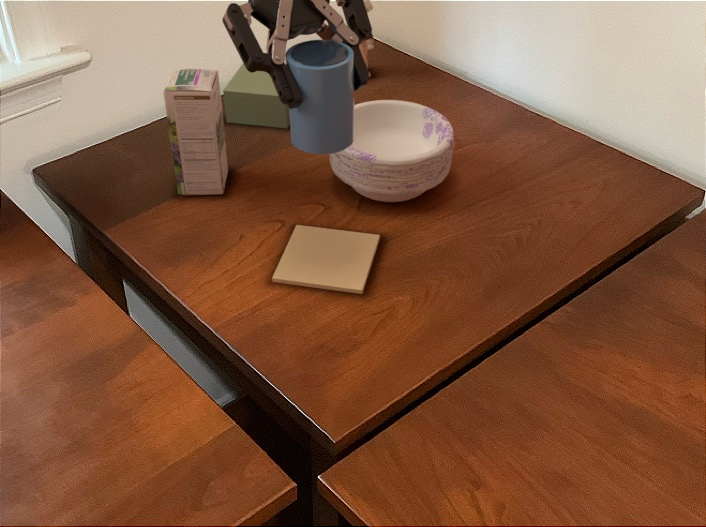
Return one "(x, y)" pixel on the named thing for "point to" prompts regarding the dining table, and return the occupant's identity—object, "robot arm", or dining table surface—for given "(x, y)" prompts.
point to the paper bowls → (395, 150)
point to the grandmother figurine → (369, 39)
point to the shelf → (254, 100)
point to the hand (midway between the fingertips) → (329, 95)
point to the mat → (327, 259)
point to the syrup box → (196, 131)
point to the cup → (322, 96)
